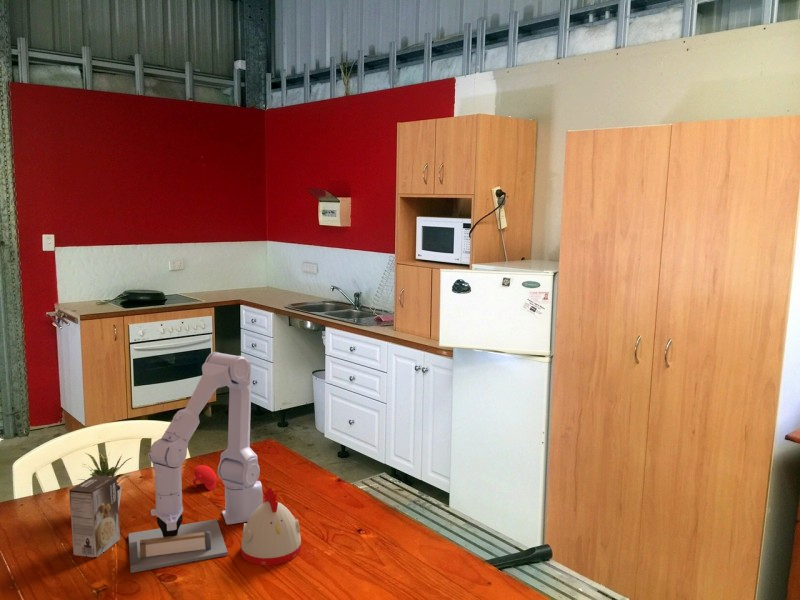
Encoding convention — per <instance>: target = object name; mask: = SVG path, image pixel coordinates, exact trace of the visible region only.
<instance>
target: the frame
mask: <svg viewBox="0 0 800 600" xmlns="http://www.w3.org/2000/svg"><path fill="white" fill-rule="evenodd" d="M201 532H204V542H205V549H201V550H194V551H186V552H178V553H171V554H163V555H156V556H148V557H144V558H140V540H145V539H153V538H161V537H163V534H162V531H161V529H160V527H158V528H155V529H148V530H142V531H135V532H131V533H130V532H129V533H128V546H129V547H128V548H129V550H128V551H129V567H130V570H129V571H130V574H132V573H137V572H138V573H139V572H143V571H144V572H145V571H149V570H153V569H154V570H155V569H160V568H166V567H172V566H177V565H182V564H188V563H194V562H198V561H204V560H210V559H215V558H219V557H224V556H225V557H226V556H229V555H228V554H229V553H228V552H229V551H228V549H227V546H226V542H225V541H224V540H225V539H224V537H223V534H222V531H221V528H220V525H219V521H218V519H216V518H215V519H209V520H204V521H196V522H191V523H185V524H181V525H180V527H179V530H178V534H177V535H185V534H193V533H201ZM193 561H194V562H193Z"/></svg>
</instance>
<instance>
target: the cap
mask: <svg viewBox="0 0 800 600" xmlns="http://www.w3.org/2000/svg"><path fill="white" fill-rule="evenodd" d="M216 474H217V473H215V471H214V470H213V469H212V468H211V467H209V466H208V465H203V464H200V465H197V466H196V467H195V468H194V470H193V476H192V483H193V487H194V488H195V489H196V488H197V483H196V482H197V481H199V483H202V484H203V485H204V487H205V488H206V489H207V490H208V491H213V489H214V490H215V489H216V487H217V483H218V482H217V479H218V476H217V475H216Z"/></svg>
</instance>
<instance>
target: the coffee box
mask: <svg viewBox="0 0 800 600" xmlns="http://www.w3.org/2000/svg"><path fill="white" fill-rule="evenodd" d="M117 483H118V479H117V477H116V476H114V477H108V476H95V475H94V476H90V477H89V478H87V479H84V480H83V481H82V482H80V483H79V484H76V485H75V486H74V487H72V488H69V490H68V491H69V504H70V505H69V507H70V518H71V523H70V524H71V533H72V551H73V555H74V556H80V557H86V556H87V557H88V558H94V557H97V558H98V557H100V556H101V555H102V554H104V553H103V552H106V551H108V550H109V549H110V548H111V547H112V546H114V545H115V544H117V543H118V542H119V541H121V534H120V533H121V530H120V529H121V528H120V514H119V510H120V509H119V510H118V493H117Z"/></svg>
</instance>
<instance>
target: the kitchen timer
mask: <svg viewBox="0 0 800 600" xmlns="http://www.w3.org/2000/svg"><path fill="white" fill-rule="evenodd" d="M274 491H275V490H273V488H272V487H269V488H267V490H265V492H263V498H264V502H263V504H261V505H260V506H259V507H258V508H257V509H256V510H255V511H254V512H253V513H252V515H251V516H250V518H249V520H248V521H247V523H246V522H243V528H242V535H241V537H242V538H241V543H240V544H241V545H240V550H241V552H240V553H241V556H242V557H243V558H244V560H245V561H247V562H249V563H251V564H255V565H256V564H257V565H260V566H261V565H262V566H263V565H264V566H269V565H278V564H283V563H286V562H288V561H291V560H292V559H294V558H296V557H297V556H298V555H299V554H300V553H301V550H302V538H301V529H300V524H299V523H300V522H299V519H298V518H295V516H294V515H293V514H292V512H291V511H290V510H289V509H288V507H286V506H285V505H284V504H282V503H281V502H278V501H277V493H274Z"/></svg>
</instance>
